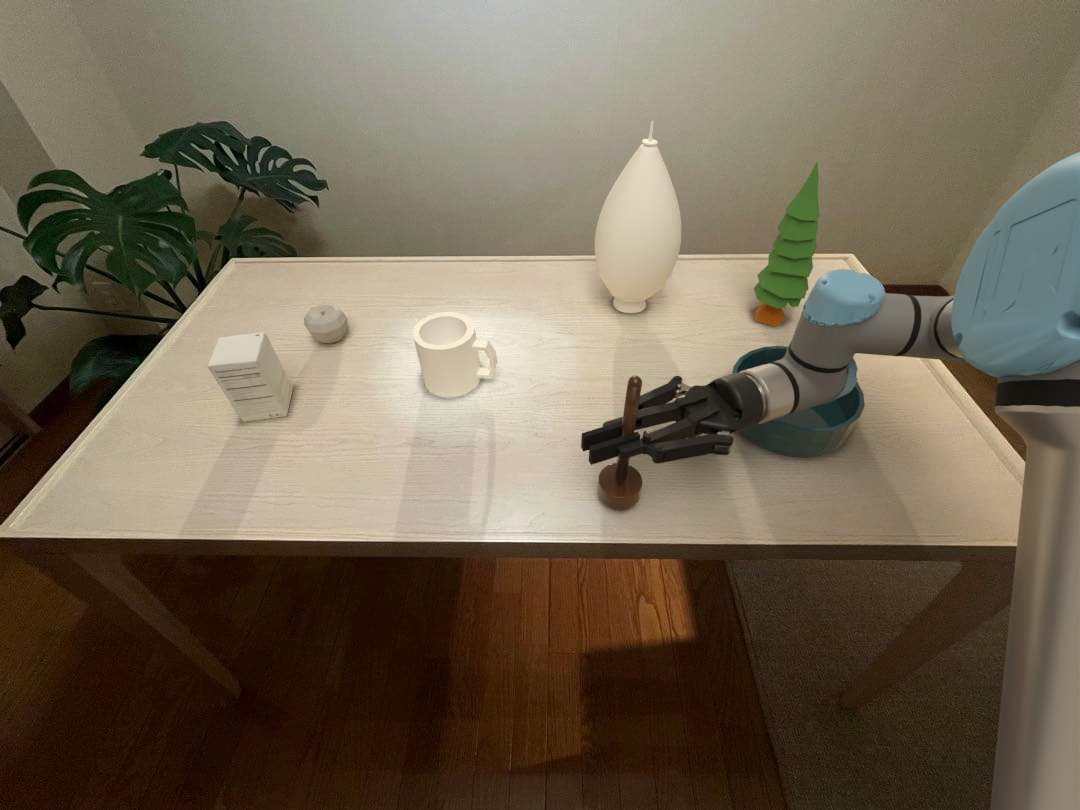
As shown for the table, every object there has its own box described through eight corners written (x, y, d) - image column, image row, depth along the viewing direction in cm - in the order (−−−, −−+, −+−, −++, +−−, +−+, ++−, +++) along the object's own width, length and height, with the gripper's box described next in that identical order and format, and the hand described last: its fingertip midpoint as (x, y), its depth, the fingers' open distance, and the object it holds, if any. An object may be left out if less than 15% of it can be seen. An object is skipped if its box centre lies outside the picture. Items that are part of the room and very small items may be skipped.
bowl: (876, 436, 82) (894, 409, 78) (773, 473, 77) (786, 447, 73) (793, 361, 95) (804, 335, 90) (700, 389, 90) (707, 363, 86)
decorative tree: (743, 302, 108) (790, 150, 86) (790, 304, 107) (849, 151, 86) (752, 331, 101) (805, 174, 80) (802, 333, 100) (870, 175, 79)
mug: (504, 363, 96) (500, 315, 88) (492, 402, 89) (486, 354, 81) (433, 356, 98) (423, 309, 90) (416, 394, 90) (403, 346, 83)
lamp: (586, 284, 114) (596, 106, 89) (659, 281, 114) (688, 103, 89) (596, 329, 102) (609, 139, 78) (676, 325, 103) (715, 135, 78)
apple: (309, 353, 99) (297, 326, 94) (312, 329, 104) (301, 301, 100) (353, 347, 100) (343, 319, 95) (353, 323, 105) (344, 295, 101)
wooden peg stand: (647, 502, 73) (673, 387, 57) (608, 515, 71) (624, 402, 56) (627, 470, 77) (646, 355, 61) (590, 482, 75) (599, 367, 60)
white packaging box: (251, 392, 92) (217, 335, 83) (294, 387, 92) (266, 330, 83) (241, 423, 86) (204, 366, 77) (287, 417, 87) (256, 360, 78)
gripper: (774, 456, 67) (610, 513, 62) (709, 384, 77) (563, 428, 72) (793, 416, 62) (615, 475, 57) (721, 344, 72) (563, 389, 66)
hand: (586, 449), depth 64 cm, fingers closed on wooden peg stand, 2 cm apart
